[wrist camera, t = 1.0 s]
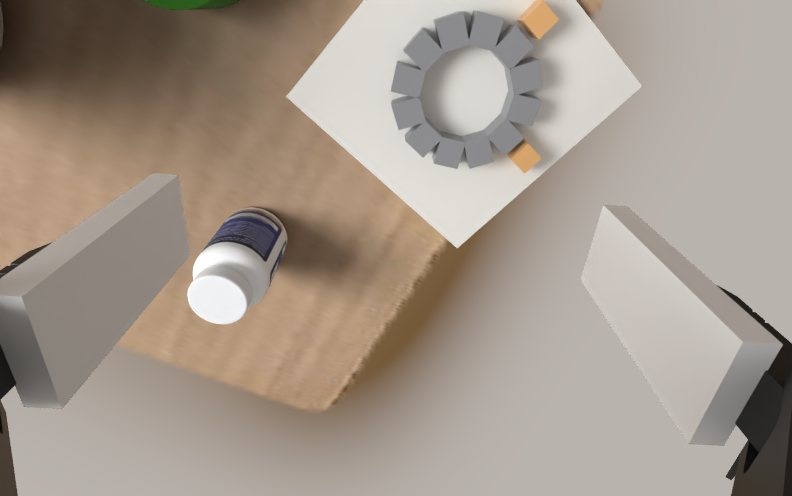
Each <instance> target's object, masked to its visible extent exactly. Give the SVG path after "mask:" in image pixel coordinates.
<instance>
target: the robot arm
mask: <svg viewBox="0 0 792 496" xmlns="http://www.w3.org/2000/svg"><path fill="white" fill-rule="evenodd" d="M190 255H191V254H190V247H189V241H188V234H187V228H186V221H185V214H184V208H183V201H182V195H181V188H180V181H179V175H172V174H158V173H153V174H151V175H150V176H148V177H147V178H145V179H144V180H142V181H141V182H139V183H138V184H137V185H135V186H134V187H132V188H131V189H129V190H128V191H126V192H125V193H124V194H122V195H121V196H119V197H118V198H116V199H115V200H113V201H112V202H110V203H109V204H108V205H106V206H105V207H103V208H102V209H100V210H99V211H97V212H96V213H94V214H93V215H92V216H90V217H89V218H87V219H86V220H84V221H83V222H81V223H80V224H79V225H77V226H76V227H74V228H73V229H71V230H70V231H68V232H67V233H65V234H64V235H63V236H61V237H60V238H58V239H57V240H55V241H54V242H52V243H49V244H47V245H44V246H42V247H39V248H37V249H34V250H32V251H29V252H27V253H26V254H24V255H23V256H21V257H20V258H18V259H17V260H15V261H14V262H12V263H11V265H10V266H6V267H5V268H3V269H2V270H0V399H2V397H3V396H4V395H6V393H8V392H9V390H10V389H12V387H14V386H16V389H17V391H18V394H19V396H20V398H21V401H22V403H23V406H24V407H35V408H53V409H63V407H64V406H65V405H66V404H67V403H68V401H69V400H70V399H71V398H72V396H73V395H74V394H75V393H76V392H77V390H78V389H79V388H80V387H81V386H82V384H83V383H84V382H85V381H86V380H87V379H88V377H89V376H90V375H91V374H92V372H93V371H94V370H95V369H96V368H97V366H98V365H99V364H100V363H101V362H102V360H103V359H104V358H105V357H106V356H107V354H108V353H109V352H110V351H111V350H112V348H113V347H114V346H115V345H116V344H117V342H118V341H119V340H120V339H121V338H122V336H123V335H124V334H125V333H126V332H127V330H128V329H129V328H130V327H131V326H132V324H133V323H134V322H135V321H136V320H137V318H138V317H139V316H140V315H141V314H142V312H143V311H144V310H145V309H146V307H147V306H148V305H149V304H150V303H151V301H152V300H153V299H154V298H155V297H156V295H157V294H158V293H159V292H160V291H161V289H162V288H163V287H164V286H165V285H166V283H167V282H168V281H169V280H170V279H171V277H172V276H173V275H174V274H175V273H176V271H177V270H178V269H179V268H180V267H181V265H182V264H183V263H184V262H185V261H186V259H187V258H188V257H189V256H190ZM581 281H582V282H583V284H584V286H585V287H586V289H587V290H588V292H589V293H590V295H591V296H592V298H593V299H594V301H595V302H596V304H597V306H598V307H599V309H600V310H601V312H602V313H603V315H604V316H605V318H606V319H607V321H608V322H609V324H610V325H611V327H612V328H613V330H614V331H615V333H616V334H617V336H618V337H619V339H620V340H621V342H622V343H623V345H624V346H625V348H626V349H627V351H628V353H629V354H630V356H631V357H632V359H633V360H634V362H635V363H636V364H637V366H638V368H639V369H640V371H641V372H642V374H643V375H644V377H645V378H646V380H647V381H648V383H649V384H650V386H651V387H652V389H653V390H654V392H655V394H656V395H657V397H658V398H659V399H660V401H661V403H662V404H663V406H664V407H665V409H666V410H667V412H668V413H669V415H670V416H671V418H672V419H673V421H674V422H675V424H676V425H677V427H678V428H679V430H680V431H681V433H682V434H683V436H684V437H685V439H686V441H687V442H688V443H689V444H701V445H719V446H724V444H725V443H726V441H727V439H728V438H729V436H730V434H731V433H732V430H733V429H734V427H735V426H736V425H737V426H738V427H739V429H740V430H741V431H742V432H743V434H744V435H745V436H746V437H747V439H748V441H747V443H746V444H745V446H744V448H743V449H742V451H741V453H740V454H739V456H738V457H737V459H736V461H735V462H734V464H733V465H732V467H731V469H730V470H729V472H728V474H727V475H726V477H727V478H729V479H730V480H732V479H733V478H734V477H735V480H734V485H733V489H732V494H731V496H792V344H791V343H790V342H789V341H788V340H787V339H786V338H784V337H783V336H782V335H781V334H780V333H779V332H778V331H776V330H775V329H774V328H773V327H772V326H771V325H770V324H768V323H765V320H764V319H763V318H761V317H760V316H759V315H758V314H757V313H755V312H752V309H751V308H750V307H749V306H748V305H746V304H745V303H744V302H743V301H742V300H741V299H739V298H738V297H737V296H735V295H733V294H732V293H730V292H728V291H726V290H725V289H723V288H721V287H719V286H717V285H715V284H714V283H713V282H712V281H711V280H710V279H709V278H707V277H706V276H705V275H704V274H703V273H702V272H701V271H700V270H698V269H697V268H696V267H695V266H694V265H693V264H691V263H690V262H689V261H688V260H687V259H686V258H685V257H684V256H683V255H682V254H680V253H679V252H678V251H677V250H676V249H675V248H674V247H672V246H671V245H670V244H669V243H668V242H667V241H666V240H665V239H663V238H662V237H661V236H660V235H659V234H658V233H657V232H656V231H654V230H653V229H652V228H651V227H650V226H649V225H648V224H647V223H645V222H644V221H643V220H642V219H641V218H639V216H637V215H636V214H635V213H634V212H633V211H632V210H631V209H630V208H628V207H625V206H609V205H603V208H602V211H601V215H600V218H599V221H598V225H597V228H596V231H595V234H594V238H593V241H592V244H591V248H590V251H589V254H588V257H587V261H586V264H585V267H584V271H583V274H582V277H581ZM0 496H18V495H17V488H16V481H15V473H14V466H13V460H12V453H11V446H10V438H9V431H8V424H7V417H6V412H5V409H4V407H3V405H2V403H1V400H0Z"/></svg>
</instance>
